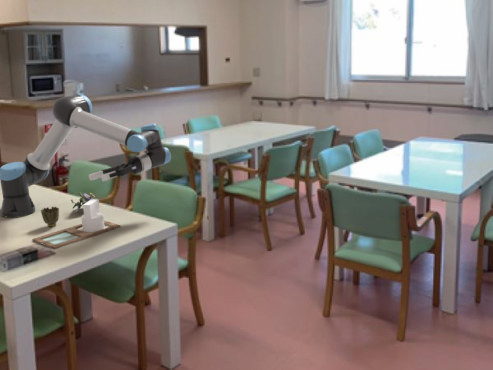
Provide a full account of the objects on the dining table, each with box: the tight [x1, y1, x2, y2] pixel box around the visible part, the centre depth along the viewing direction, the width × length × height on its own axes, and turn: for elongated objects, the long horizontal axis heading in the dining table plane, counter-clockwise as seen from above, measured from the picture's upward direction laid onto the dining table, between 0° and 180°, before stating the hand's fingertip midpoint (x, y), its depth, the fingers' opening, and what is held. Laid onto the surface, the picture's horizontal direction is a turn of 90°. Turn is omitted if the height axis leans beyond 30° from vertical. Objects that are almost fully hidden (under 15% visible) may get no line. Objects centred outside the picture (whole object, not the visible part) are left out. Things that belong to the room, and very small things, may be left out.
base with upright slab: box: [81, 198, 105, 233], centre depth 245 cm, size 9×9×12 cm
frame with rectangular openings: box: [32, 220, 121, 250], centre depth 240 cm, size 16×32×1 cm, turn 140°
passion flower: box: [70, 191, 97, 213], centre depth 271 cm, size 11×11×12 cm
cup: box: [40, 206, 60, 228], centre depth 250 cm, size 8×7×8 cm
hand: (95, 178), depth 245 cm, fingers open, 13 cm apart
